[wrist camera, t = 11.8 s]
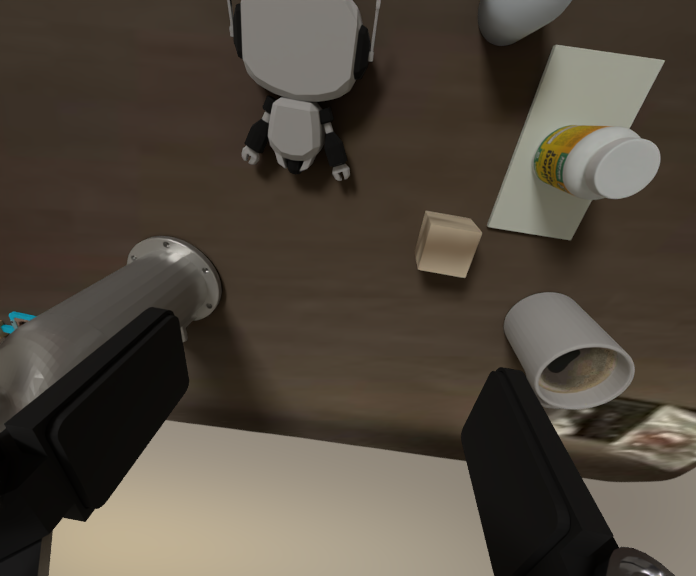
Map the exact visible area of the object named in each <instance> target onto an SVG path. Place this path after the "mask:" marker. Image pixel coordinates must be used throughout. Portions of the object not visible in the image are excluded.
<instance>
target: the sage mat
mask: <svg viewBox="0 0 696 576" xmlns="http://www.w3.org/2000/svg"><path fill="white" fill-rule="evenodd" d="M664 61H665V60H659V59H652V58H645V57H638V56H631V55H624V54H617V53H610V52H603V51H596V50H589V49H582V48H575V47H568V46H561V45H554V46H553V48H552V51H551V54H550V56H549V59H548V62H547V64H546V67H545V70H544V72H543V75H542V78H541V81H540V83H539V86H538V89H537V91H536V94H535V97H534V100H533V102H532V105H531V108H530V110H529V113H528V116H527V118H526V121H525V124H524V127H523V129H522V132H521V135H520V137H519V140H518V143H517V145H516V148H515V151H514V154H513V156H512V159H511V162H510V164H509V167H508V170H507V173H506V175H505V178H504V181H503V183H502V186H501V189H500V191H499V194H498V197H497V200H496V202H495V205H494V208H493V210H492V213H491V216H490V218H489V221H488V224H487V226H488V227H491V228H497V229H503V230H510V231H516V232H522V233H528V234H534V235H540V236H546V237H553V238H559V239H565V240H571V239H572V237H573V235H574V233H575V232H576V230H577V228H578V226H579V224H580V222H581V220H582V218H583V216H584V214H585V212H586V211H587V209H588V207H589V205H590V203H591V201H592V200H587V199H581V198H578V197H576V196H573V195H571V194H568V193H566V192H564V191H561V190H559V189H557V188H555V187H552V186H550V185H548V184H546V183H544V182H542V181H541V180H539V179H538V178H537V177H536V175H535V173H534V171H533V167H532V159H533V156H534V153H535V150H536V148H537V146H538V145H539V143H540V142H541V141H542V140H543V138H544V137H545V136H546V135H548V134H549V133H550V132H552V131H553V130H555V129H557V128H560V127H563V126H567V125H587V126H618V127H624V128H628V129H629V128H630V126H631V125H632V123H633V121H634V119H635V117H636V115H637V113H638V111H639V109H640V107H641V105H642V104H643V102H644V100H645V98H646V96H647V94H648V92H649V90H650V88H651V86H652V84H653V83H654V81H655V79H656V77H657V75H658V73H659V71H660V69H661V67H662V65H663V63H664Z"/></svg>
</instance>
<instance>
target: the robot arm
mask: <svg viewBox="0 0 696 576" xmlns="http://www.w3.org/2000/svg"><path fill="white" fill-rule="evenodd" d="M221 293H222V288H221V282H220V278H219V275H218V273H217V271H216V269H215V267H214V266H213V265H212V263H211V262H210V260H209V259H208V258H207V257H206V256H205V255H204V254H203V253H202V252H201V251H199V250H198V249H197V248H196V247H194V246H192V245H191V244H189V243H187V242H185V241H183V240H180V239H178V238H174V237H169V236H155V237H150V238H148V239H146V240H143V241H142V242H140V243H138V244H137V245H136V246H135V247H134V248H133V249H132V250H131V252H130V254H129V256H128V261H127V265H126V266H124V267H123V268H121V269H119V270H117V271H116V272H114V273H112V274H110V275H109V276H107V277H105V278H103V279H102V280H100V281H98V282H96V283H95V284H93V285H91V286H89V287H88V288H86V289H84V290H82V291H81V292H79V293H77V294H75V295H74V296H72V297H70V298H68V299H67V300H65V301H63V302H61V303H60V304H58V305H56V306H54V307H53V308H51V309H49V310H47V311H46V312H44V313H42V314H40V315H39V316H37V317H35V318H33V319H31V320H30V321H28V322H26V323H25V324H23V325H21V326H20V327H18V328H17V329H15V330H14V331H13V332H12V333H11V334H10V335H8V336H7V337H6V338H5V340H4V341H3V342H2V343H1V344H0V576H48V575H49V564H50V554H51V542H52V531H53V529H54V528H55V527H56V525H57V524H58V523H59V522H60V520H61V519H62V518H63V517H64V518H68V519H73V520H78V521H84V522H86V520H87V519H88V518H89V516H90V515H91V514H92V512H93V511H94V509H98V508H100V507H102V506H103V505H104V504H105V503H106V501H107V500H108V499H109V498H110V496H111V495H112V493H113V492H114V491H115V489H116V488H117V486H118V485H119V484H120V482H121V481H122V480H123V478H124V477H125V475H126V474H127V473H128V471H129V470H130V468H131V467H132V466H133V464H134V463H135V461H136V460H137V459H138V457H139V456H140V455H141V453H142V452H143V450H144V449H145V448H146V446H147V445H148V444H149V442H150V441H151V439H152V438H153V437H154V435H155V434H156V432H157V431H158V430H159V428H160V427H161V426H162V424H163V423H164V421H165V420H166V419H167V417H168V416H169V414H170V413H171V412H172V410H173V409H174V408H175V406H176V405H177V403H178V402H179V401H180V399H181V398H182V397H183V395H184V394H185V392H186V391H187V388H188V385H189V377H188V371H187V365H186V359H185V352H184V346H183V342H185V341H187V340H188V335H187V331H186V327H187V326H188V325H189V324H190V323H191V322H192V321H196V320H200V319H203V318H205V317H206V316H208V315H210V314H211V313H212V312H213V311H214V309H215V308H216V307H217V306H218V304H219V302H220V299H221ZM461 440H462V445H463V449H464V453H465V457H466V462H467V466H468V470H469V474H470V478H471V482H472V486H473V490H474V494H475V499H476V503H477V507H478V511H479V515H480V519H481V524H482V527H483V532H484V536H485V540H486V544H487V548H488V552H489V556H490V561H491V565H492V569H493V573H494V576H675V575H674V574H673V573H671V572H670V571H669V570H668V569H667V568H666V567H665V566H663V565H662V564H661V563H660V562H658V561H657V560H655V559H654V558H652V557H651V556H649V555H647V554H646V553H644V552H641V551H639V550H636V549H634V548H629V547H620V548H619V547H618V545H617V543H616V541H615V539H614V538H613V534H612V532H611V530H610V528H609V527H608V525H607V523H606V521H605V519H604V517H603V516H602V514H601V512H600V510H599V509H598V507H597V505H596V503H595V501H594V499H593V498H592V496H591V494H590V492H589V490H588V489H587V487H586V485H585V483H584V482H583V479H582V478H581V476H580V474H579V472H578V470H577V469H576V467H575V465H574V463H573V461H572V459H571V458H570V456H569V454H568V452H567V450H566V449H565V447H564V445H563V443H562V441H561V439H560V438H559V436H558V434H557V432H556V430H555V429H554V427H553V425H552V423H551V421H550V420H549V418H548V416H547V414H546V412H545V410H544V409H543V407H542V405H541V403H540V401H539V400H538V398H537V396H536V394H535V392H534V391H533V389H532V387H531V385H530V383H529V381H528V380H527V378H526V376H525V374H524V373H523V372H522V371H520V370H514V369H508V368H503V367H500V368H498V369H497V370H496V371H492V372H491V373H490V374H489V376H488V378H487V380H486V382H485V384H484V386H483V388H482V390H481V392H480V395H479V397H478V399H477V401H476V403H475V405H474V407H473V409H472V411H471V413H470V415H469V417H468V419H467V421H466V423H465V425H464V427H463V429H462V433H461Z"/></svg>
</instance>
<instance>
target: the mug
mask: <svg viewBox="0 0 696 576" xmlns="http://www.w3.org/2000/svg"><path fill="white" fill-rule="evenodd" d="M504 332H505V335H506V337H507V339H508V341H509V343H510V344H511V346H512V348H513V350H514V352H515V354H516V355H517V357H518V359H519V361H520V363H521V365H522V367H523V368H524V370H525V372H526V378H527V380H528V381H529V383H530V385H531V387H532V389H533V391H534V392H535V394H536V396H537V398H538V400H539V401H540V403H541V405H542V406H544V407H547V408H555V409H560V408H563V409H585V408H591V407H595V406H598V405H601V404H604V403H606V402H608V401H610V400H612V399H614V398H616V397H617V396H618V395H620V394H621V393H622V392H623V391H624V390H625V389H626V388H627V387H628V386H629V385H630V383H631V381H632V379H633V377H634V371H635V368H634V363H633V361H632V359H631V357H630V356H629V355H628V354H627V353H626V352H625V351H624V350H623V349H622V348H621V347H620V346H619V345H618V344H617V343H616V342H615V341H614V340H613V339H612V338H611V337H610V336H609V335H608V334H607V333H606V332H605V331H604V330H603V329H602V328H601V327H600V326H599V325H598V324H597V323H596V322H595V321H594V320H593V319H592V318H591V317H590V316H589V315H588V314H587V313H586V312H585V311H584V310H583V309H582V308H581V307H580V306H579V305H578V304H577V303H576V302H575V301H574V300H572V299H571V298H570V297H568V296H566V295H563V294H560V293H554V292H545V293H538V294H534V295H531V296H528V297H526V298H524V299H522V300H521V301H519V302H518V303H517V304H516V305H514V306H513V307H512V308H511V310H510V311H509V312H508V314H507V316H506V318H505V322H504Z"/></svg>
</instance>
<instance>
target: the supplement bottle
mask: <svg viewBox="0 0 696 576" xmlns="http://www.w3.org/2000/svg"><path fill="white" fill-rule="evenodd" d="M659 165H660V152H659V149H658V148H657V146H656V145H655V144H654V143H652V142H651V141H649V140H645V139H641V138H640V137H639V135H637V134H636V133H635V132H634V131H632V130H630V129H628V128H624V127H618V126H587V125H567V126H563V127H560V128H557V129H555V130H553V131H552V132H550V133H549V134H548V135H546V136H545V137H544V138H543V140H542V141H541V142H540V143H539V145H538V146H537V148H536V150H535V153H534V156H533V159H532V167H533V171H534V173H535V175H536V177H537V178H538V179H539V180H541V181H542V182H544V183H546V184H548V185H550V186H552V187H555V188H557V189H559V190H561V191H564V192H566V193H568V194H571V195H573V196H576V197H578V198H581V199H587V200H597V199H602V198H609V199H621V198H625V197H629V196H631V195H633V194H635V193H637V192H639V191H640V190H642V189H643V188H644V187H645V186H646V185H648V184H649V182H650V181H651V180H652V179H653V178H654V176H655V174H656V173H657V171H658V168H659Z"/></svg>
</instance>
